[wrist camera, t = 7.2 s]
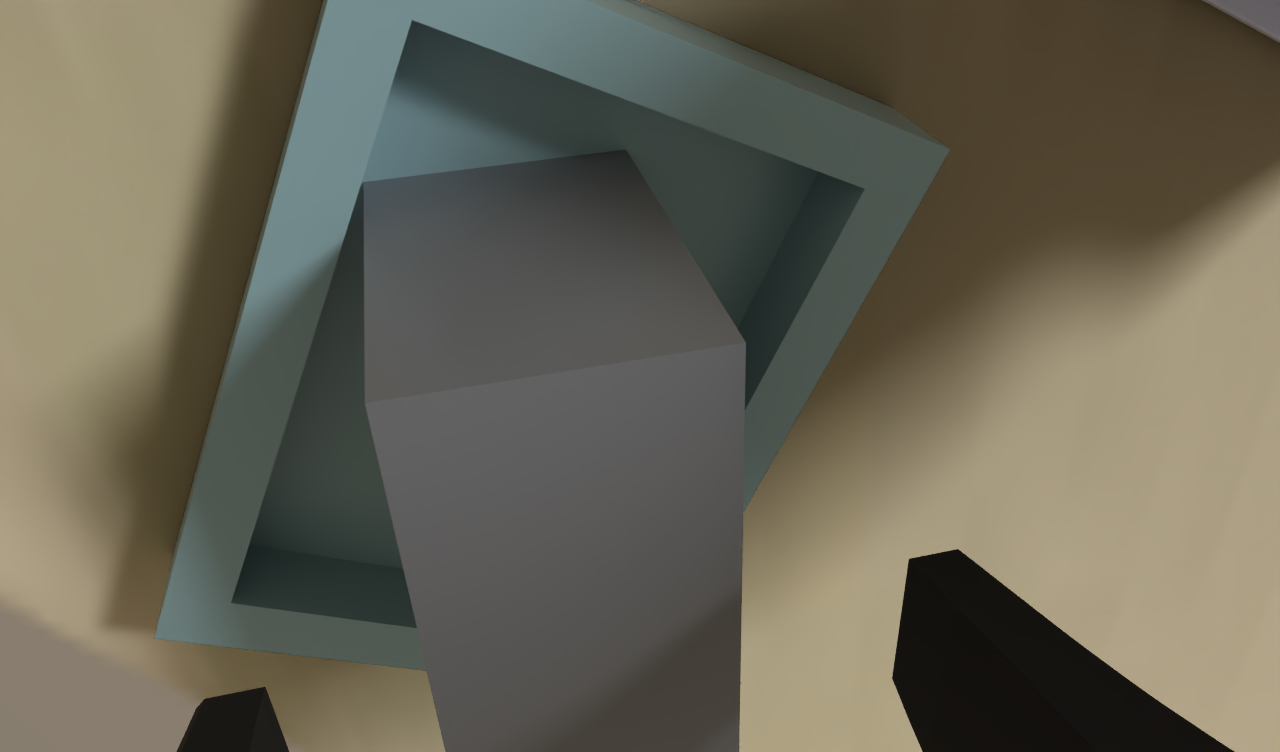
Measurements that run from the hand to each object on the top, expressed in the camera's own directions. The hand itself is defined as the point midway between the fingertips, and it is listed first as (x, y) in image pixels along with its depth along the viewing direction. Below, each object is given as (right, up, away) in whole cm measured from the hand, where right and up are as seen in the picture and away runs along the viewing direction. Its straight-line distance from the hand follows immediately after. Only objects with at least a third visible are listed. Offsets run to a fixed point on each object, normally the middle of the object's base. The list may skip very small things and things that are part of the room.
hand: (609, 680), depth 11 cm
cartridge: (-2, +4, +6) cm, 7 cm away
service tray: (-2, +4, +6) cm, 8 cm away
